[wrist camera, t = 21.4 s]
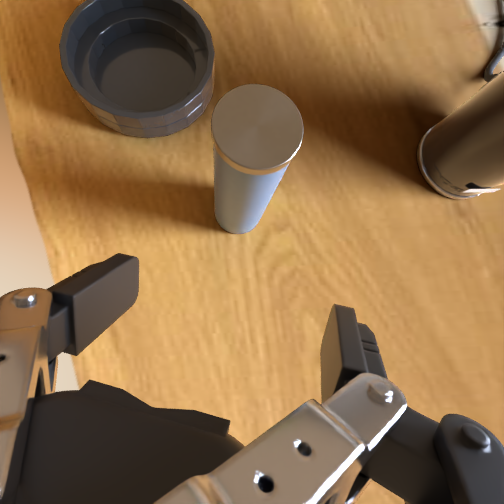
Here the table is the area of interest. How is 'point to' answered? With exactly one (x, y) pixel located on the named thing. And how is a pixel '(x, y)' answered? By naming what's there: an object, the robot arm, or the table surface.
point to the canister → (251, 151)
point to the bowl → (139, 64)
